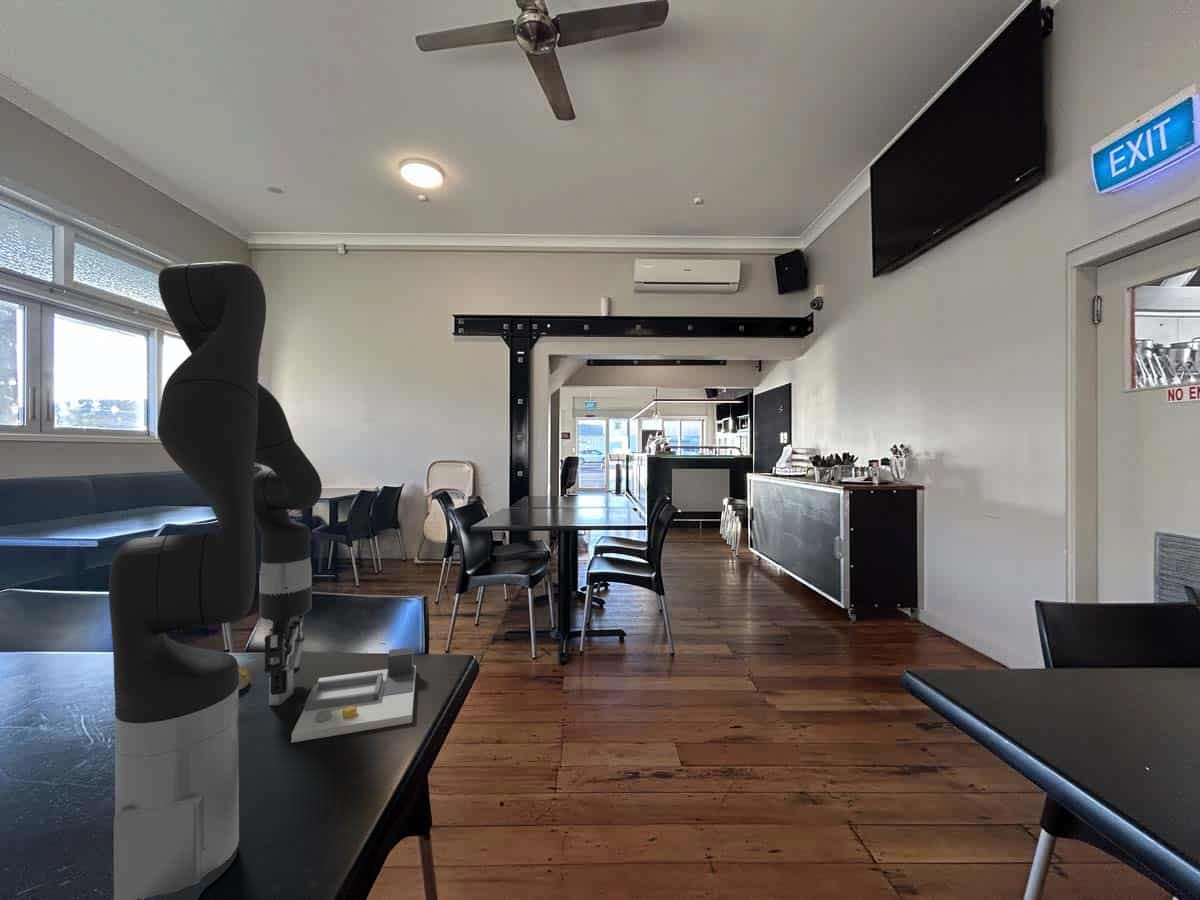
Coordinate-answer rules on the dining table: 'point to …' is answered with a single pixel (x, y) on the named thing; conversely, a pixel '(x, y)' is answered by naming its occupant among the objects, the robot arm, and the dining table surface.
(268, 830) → the dining table surface
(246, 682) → the pastry
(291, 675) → the lighter
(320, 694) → the board
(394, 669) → the block
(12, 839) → the dining table surface
